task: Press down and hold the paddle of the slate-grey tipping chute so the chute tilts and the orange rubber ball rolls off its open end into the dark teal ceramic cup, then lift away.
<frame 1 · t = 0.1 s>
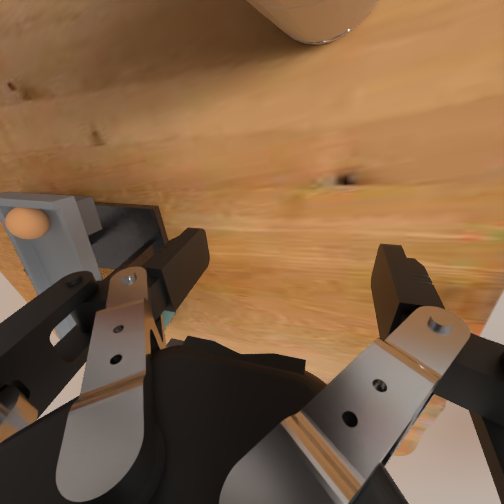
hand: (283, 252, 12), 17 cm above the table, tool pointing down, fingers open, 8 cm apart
ball: (28, 222, 26), point 11 cm above the table, tilted 34°, touching chute
chute: (115, 281, 30), point 10 cm above the table, hinge at -8.1°, touching ball
stand: (124, 238, 40), on the table
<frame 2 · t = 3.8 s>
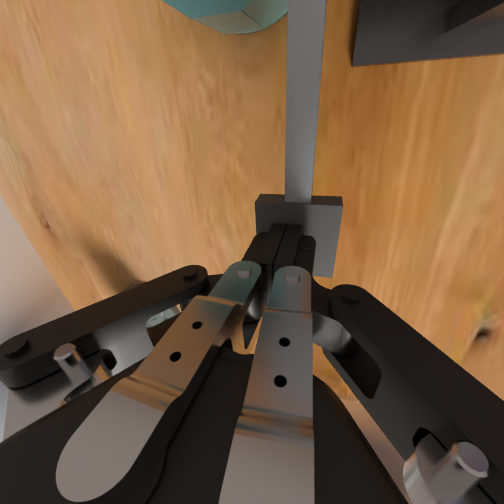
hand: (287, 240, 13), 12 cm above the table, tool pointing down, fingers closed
figurine: (153, 308, 41), on the table
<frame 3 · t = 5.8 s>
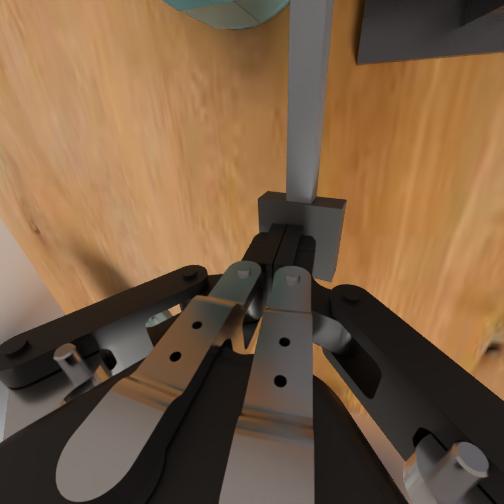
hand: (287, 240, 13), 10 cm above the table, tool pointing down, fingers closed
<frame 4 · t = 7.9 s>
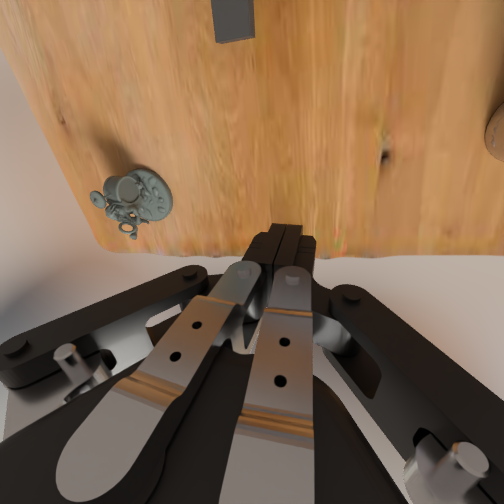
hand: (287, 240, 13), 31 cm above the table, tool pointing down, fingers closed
figurine: (149, 194, 51), on the table
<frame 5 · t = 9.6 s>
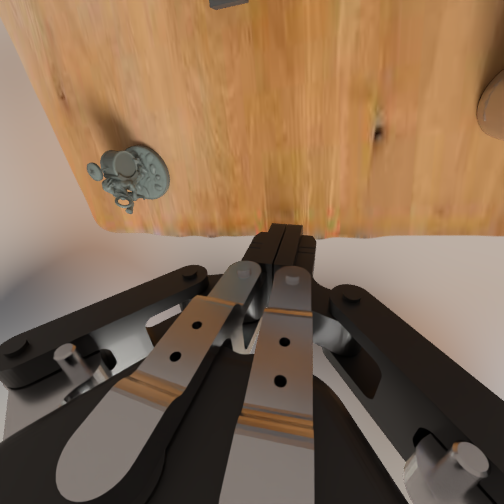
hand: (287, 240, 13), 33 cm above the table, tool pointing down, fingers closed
figurine: (147, 172, 51), on the table
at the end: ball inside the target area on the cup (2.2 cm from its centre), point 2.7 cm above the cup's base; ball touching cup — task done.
